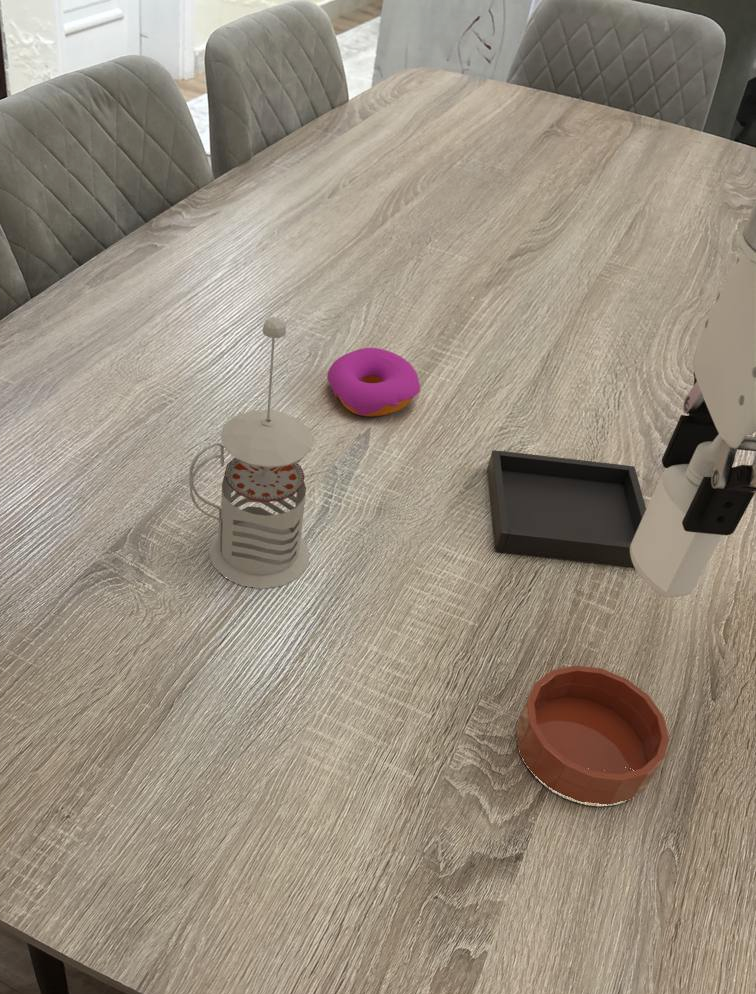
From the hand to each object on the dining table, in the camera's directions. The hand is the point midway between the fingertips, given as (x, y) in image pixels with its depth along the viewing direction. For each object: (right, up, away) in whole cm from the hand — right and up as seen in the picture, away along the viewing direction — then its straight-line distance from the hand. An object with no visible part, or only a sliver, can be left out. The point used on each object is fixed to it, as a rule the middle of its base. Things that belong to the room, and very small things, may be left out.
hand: (695, 496), depth 62 cm
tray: (+1, +2, +37) cm, 37 cm away
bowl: (-3, -19, +16) cm, 25 cm away
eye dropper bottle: (-1, -5, +5) cm, 7 cm away
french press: (-31, -2, +29) cm, 43 cm away
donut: (-18, +17, +50) cm, 55 cm away
